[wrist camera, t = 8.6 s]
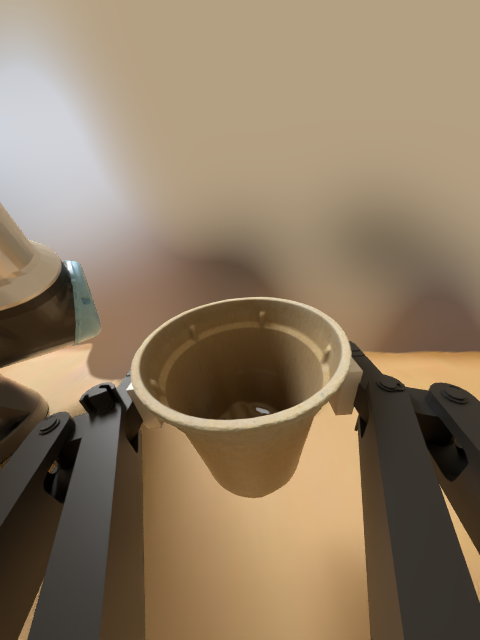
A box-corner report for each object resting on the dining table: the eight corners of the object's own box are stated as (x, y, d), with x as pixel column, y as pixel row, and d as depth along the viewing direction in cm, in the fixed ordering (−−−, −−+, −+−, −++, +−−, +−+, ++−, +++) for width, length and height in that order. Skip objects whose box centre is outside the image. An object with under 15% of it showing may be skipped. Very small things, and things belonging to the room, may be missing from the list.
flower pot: (196, 390, 18) (170, 303, 13) (301, 382, 17) (307, 289, 13) (159, 547, 9) (63, 442, 5) (360, 536, 9) (427, 415, 5)
